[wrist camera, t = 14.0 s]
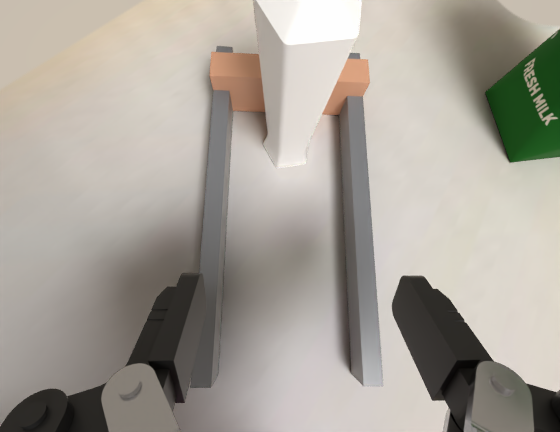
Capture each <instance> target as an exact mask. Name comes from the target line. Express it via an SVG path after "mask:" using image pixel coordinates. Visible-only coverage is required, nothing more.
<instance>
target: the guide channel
mask: <svg viewBox="0 0 560 432" xmlns="http://www.w3.org/2000/svg"><path fill="white" fill-rule="evenodd" d="M210 79H211V83H212V87H213V101H212V114H211V127H210V140H209V153H208V166H207V179H206V191H205V204H204V217H203V230H202V243H201V256H200V269H199V273H202V274H203V279H204V287H205V294H206V315H205V319H204V324H203V328H202V332H201V336H200V340H199V345H198V349H197V353H196V357H195V361H194V366H193V370H192V374H191V385H190V388H211V387H212V385H213V383H214V381H215V379H216V378H217V376H218V368H219V350H220V333H221V315H222V297H223V280H224V262H225V244H226V227H227V209H228V191H229V174H230V156H231V138H232V121H233V111H252V112H265V103H264V94H263V86H262V77H261V68H260V59H259V54H245V53H233V50H232V47H224V46H217V49H216V52H211V64H210ZM369 83H370V79H369V67H368V60H365V59H360V53H350V54H349V57H348V59H347V61H346V63H345V65H344V67H343V70H342V72H341V74H340V76H339V78H338V80H337V83H336V85H335V87H334V89H333V91H332V94H331V96H330V98H329V100H328V102H327V104H326V107H325V109H324V111H323V113H322V114H327V115H339V124H340V145H341V167H342V188H343V209H344V231H345V252H346V273H347V295H348V316H349V337H350V359H351V374H352V375H353V376H354V377H355V378H356V379H357V380H358V381H359V382H360V383H361V384H362V385H363V386H383V374H382V360H381V346H380V332H379V317H378V303H377V289H376V275H375V261H374V247H373V233H372V219H371V205H370V191H369V177H368V163H367V149H366V135H365V121H364V107H363V95H364V93H365V91H366V89H367V87H368V85H369Z"/></svg>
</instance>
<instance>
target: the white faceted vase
mask: <svg viewBox="0 0 560 432" xmlns="http://www.w3.org/2000/svg"><path fill="white" fill-rule="evenodd" d="M361 4H362V0H253V5H254V14H255V23H256V32H257V41H258V50H259V59H260V68H261V77H262V86H263V94H264V103H265V112H266V121H267V130H268V135H267V137H266V139H265V140H264V142H263V146H264V147H265V149H266V151H267V153H268V155H269V156H270V158H271V160H272V162H273V164H274V165H275V167H277V168H283V167H290V166H296V165H303V164H305V163H306V162H307V155H308V147H309V141H310V139H311V137H312V135H313V133H314V131H315V128H316V126H317V124H318V122H319V120H320V118H321V115H322V113H323V111H324V109H325V107H326V104H327V102H328V100H329V98H330V96H331V94H332V91H333V89H334V87H335V85H336V83H337V80H338V78H339V76H340V74H341V72H342V70H343V67H344V65H345V63H346V61H347V59H348V57H349V54H350V52H351V50H352V48H353V46H354V43H355V41H356V39H357V37H358V34H359V27H360V16H361Z"/></svg>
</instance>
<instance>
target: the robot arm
mask: <svg viewBox="0 0 560 432" xmlns="http://www.w3.org/2000/svg"><path fill="white" fill-rule="evenodd" d="M392 312H393V316H394V318H395V321H396V323H397V325H398V327H399V329H400V331H401V334H402V336H403V338H404V340H405V342H406V344H407V347H408V349H409V351H410V353H411V355H412V357H413V360H414V362H415V364H416V366H417V368H418V371H419V373H420V375H421V377H422V379H423V381H424V384H425V386H426V388H427V390H428V392H429V394H430V397H431V399H432V401H435V400H445V401H446V403H447V405H448V407H449V408H448V410H447V412H446V417H445V422H444V428H443V432H560V390H559V391H558V392H553V391H550V390H547V389H543V388H540V387H536V386H533V385H529V384H526V383H525V382H524V381H523V380H522V378H521V377H520V376H519V375H517V374H516V373H515V372H514V371H513V370H511V369H509V368H508V367H506V366H504V365H502V364H500V363H497V362H494V361H493V360H492V358H491V357H490V356H489V354H488V353H487V351H486V350H485V349H484V347H483V346H482V344H481V343H480V341H479V340H478V339H477V337H476V336H475V334H474V333H473V332H472V330H471V329H470V327H469V326H468V325H467V323H465V322H464V319H463V318H462V316H461V315H460V313H458V312H457V309H456V308H455V306H454V305H453V304H452V302H451V301H450V299H449V298H447V297H446V296H445V295H444V294H442V293H441V292H440V291H439V290H438V289H433V288H432V287H431V285H430V284H429V283H428V281H427V280H426V278H425V277H423V276H402V277H401V279H400V282H399V285H398V288H397V290H396V293H395V296H394V299H393V302H392ZM205 315H206V294H205V287H204V279H203V274H202V273H182V275H181V276H180V279H179V282H178V284H177V287H167V288H166V289H165V290H164V291H163V292H162V293H161V294H160V295H159V296H158V297H157V299H156V301H155V303H154V305H153V307H152V311H151V312H150V314H149V316H148V319H147V322H146V323H145V325H144V328H143V330H142V332H141V334H140V336H139V339H138V341H137V343H136V345H135V348H134V350H133V352H132V354H131V357H130V359H129V361H128V363H127V364H126V366H125V367H124V368H122V369H121V370H119V371H118V372H117V373H115V374H114V375H113V376H112V377H111V378H110V379H109V381H108V382H107V383H105V384H103V385H101V386H98V387H96V388H93V389H90V390H86V391H83V392H80V393H77V394H74V395H71V396H68V397H67V396H66V394H65V393H64V392H63V391H61V390H58V389H46V390H43V391H40V392H37V393H35V394H33V395H31V396H29V397H28V398H26V399H25V400H23V401H22V402H21V403H20V404H18V405H17V406H16V407H15V408H14V409H13V410H12V411H11V412H10V413H9V415H8V416H7V417H6V419H5V420H4V422H3V423H2V425H1V426H0V432H181V431H180V429H179V426H178V424H177V422H176V419H175V417H174V415H173V413H172V412H173V408H174V405H175V403H185V399H186V395H187V391H188V387H189V382H190V378H191V374H192V370H193V366H194V361H195V357H196V353H197V349H198V345H199V340H200V336H201V332H202V328H203V324H204V319H205Z"/></svg>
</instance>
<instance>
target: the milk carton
mask: <svg viewBox="0 0 560 432" xmlns="http://www.w3.org/2000/svg"><path fill="white" fill-rule="evenodd" d="M485 93H486V96H487V99H488V101H489V104H490V107H491V110H492V113H493V115H494V118H495V121H496V124H497V127H498V129H499V132H500V135H501V138H502V140H503V143H504V146H505V149H506V152H507V154H508V157H509V160H510V162H519V161H527V160H536V159H544V158H553V157H560V29H559V30H558V31H556V32H555V33H554V34H553V35H552V36H551V37H550V38H548V39H547V40H546V41H545V42H544V43H542V44H541V45H540V46H539V47H538V48H537V49H535V50H534V51H533V52H532V53H531V54H529V55H528V56H527V57H526V58H525V59H524V60H522V61H521V62H520V63H519V64H518V65H517V66H515V67H514V68H513V69H512V70H511V71H510V72H508V73H507V74H506V75H505V76H504V77H503V78H501V79H500V80H499V81H498V82H497V83H495V84H494V85H493V86H492V87H491V88H490V89H488V90H487V91H486V92H485Z"/></svg>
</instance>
